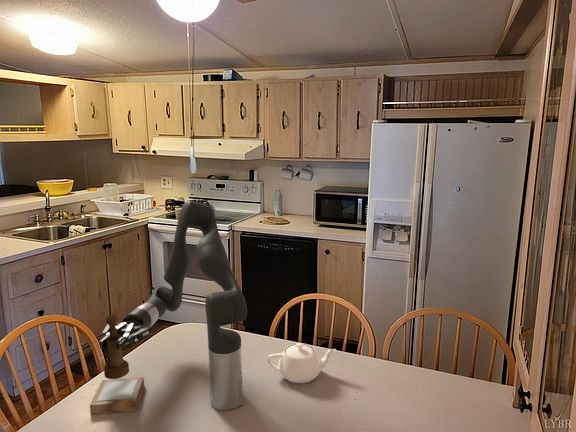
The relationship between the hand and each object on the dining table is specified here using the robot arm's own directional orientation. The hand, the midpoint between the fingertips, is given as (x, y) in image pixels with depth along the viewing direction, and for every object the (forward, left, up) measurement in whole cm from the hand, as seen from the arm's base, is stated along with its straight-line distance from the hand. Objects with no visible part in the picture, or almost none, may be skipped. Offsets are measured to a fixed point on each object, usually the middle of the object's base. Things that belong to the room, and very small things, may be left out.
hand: (108, 346), depth 115 cm
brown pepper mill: (-1, -3, -10) cm, 11 cm away
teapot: (-56, -7, -19) cm, 59 cm away
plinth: (-1, -2, -18) cm, 18 cm away
